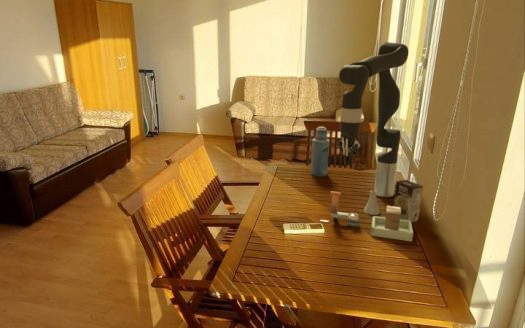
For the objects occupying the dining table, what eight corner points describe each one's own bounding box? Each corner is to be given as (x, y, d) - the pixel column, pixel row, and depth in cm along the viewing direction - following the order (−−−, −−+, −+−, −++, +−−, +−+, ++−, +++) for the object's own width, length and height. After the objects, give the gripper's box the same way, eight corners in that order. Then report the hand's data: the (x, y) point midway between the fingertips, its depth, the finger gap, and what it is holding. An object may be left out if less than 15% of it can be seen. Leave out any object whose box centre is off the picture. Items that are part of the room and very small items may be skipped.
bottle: (317, 174, 219) (320, 124, 211) (330, 178, 212) (333, 127, 203) (306, 177, 213) (309, 126, 205) (319, 181, 206) (322, 129, 197)
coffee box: (391, 215, 161) (395, 181, 157) (401, 213, 164) (406, 179, 160) (407, 223, 153) (412, 187, 149) (418, 220, 156) (423, 185, 152)
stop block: (384, 226, 149) (386, 205, 146) (397, 228, 147) (400, 207, 145) (384, 231, 144) (386, 210, 142) (398, 233, 142) (400, 212, 140)
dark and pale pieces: (321, 217, 158) (322, 206, 157) (359, 222, 154) (360, 211, 152) (319, 223, 153) (320, 212, 151) (358, 228, 148) (359, 217, 147)
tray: (371, 223, 153) (372, 215, 153) (410, 228, 149) (411, 220, 148) (371, 235, 142) (371, 227, 142) (412, 241, 138) (413, 233, 137)
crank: (359, 219, 152) (361, 193, 149) (358, 223, 148) (360, 197, 145) (329, 214, 156) (331, 189, 152) (328, 218, 152) (329, 193, 148)
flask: (380, 216, 160) (382, 195, 158) (363, 214, 162) (365, 193, 159) (379, 210, 167) (381, 189, 164) (363, 208, 169) (365, 188, 166)
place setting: (339, 172, 225) (340, 163, 223) (355, 165, 239) (356, 157, 238) (366, 178, 214) (367, 168, 212) (381, 171, 228) (381, 162, 227)
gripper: (370, 122, 132) (365, 168, 137) (347, 117, 144) (344, 159, 148) (353, 123, 129) (349, 170, 134) (331, 118, 141) (329, 161, 145)
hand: (347, 164), depth 141 cm, fingers closed
